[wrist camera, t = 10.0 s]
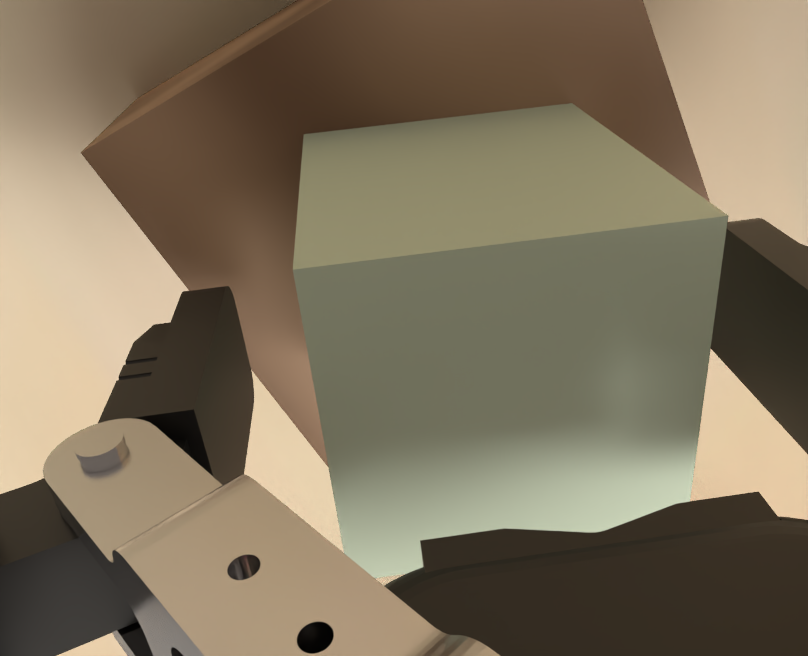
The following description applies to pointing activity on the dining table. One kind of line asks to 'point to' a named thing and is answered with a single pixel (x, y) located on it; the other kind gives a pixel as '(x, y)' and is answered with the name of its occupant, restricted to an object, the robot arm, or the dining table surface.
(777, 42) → the dining table surface
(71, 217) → the dining table surface
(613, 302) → the green block
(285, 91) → the walnut box
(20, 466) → the dining table surface
